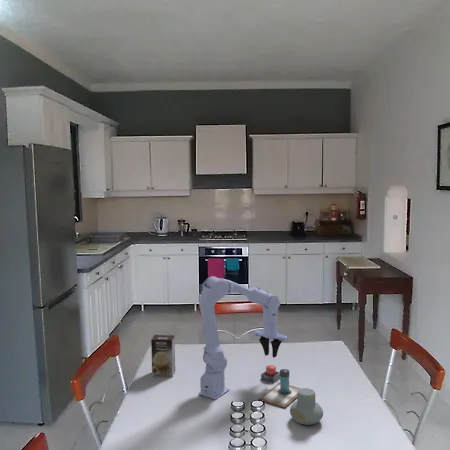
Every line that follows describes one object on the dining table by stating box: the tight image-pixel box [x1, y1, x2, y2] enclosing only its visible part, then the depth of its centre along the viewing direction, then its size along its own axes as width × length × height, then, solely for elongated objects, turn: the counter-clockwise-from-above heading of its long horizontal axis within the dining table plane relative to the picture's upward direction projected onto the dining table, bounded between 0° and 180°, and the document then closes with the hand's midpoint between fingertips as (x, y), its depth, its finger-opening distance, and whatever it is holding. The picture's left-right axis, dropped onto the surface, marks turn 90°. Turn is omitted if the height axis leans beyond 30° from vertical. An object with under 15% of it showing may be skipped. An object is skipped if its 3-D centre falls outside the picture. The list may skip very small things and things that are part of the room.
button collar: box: [260, 370, 280, 383], centre depth 180 cm, size 6×6×2 cm
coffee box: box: [150, 334, 176, 378], centre depth 185 cm, size 9×6×16 cm
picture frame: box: [258, 382, 302, 409], centre depth 165 cm, size 16×11×1 cm
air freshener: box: [289, 387, 324, 426], centre depth 147 cm, size 11×8×10 cm
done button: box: [265, 364, 277, 377], centre depth 180 cm, size 4×4×3 cm
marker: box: [279, 368, 290, 394], centre depth 166 cm, size 4×4×8 cm
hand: (270, 355), depth 179 cm, fingers open, 3 cm apart
